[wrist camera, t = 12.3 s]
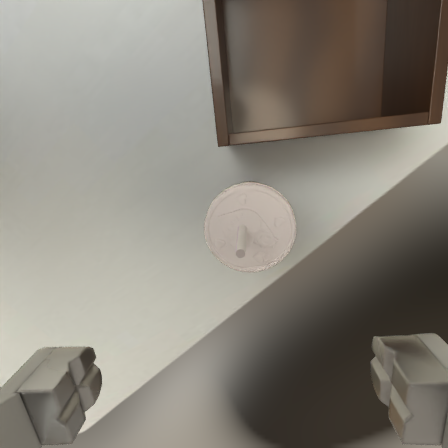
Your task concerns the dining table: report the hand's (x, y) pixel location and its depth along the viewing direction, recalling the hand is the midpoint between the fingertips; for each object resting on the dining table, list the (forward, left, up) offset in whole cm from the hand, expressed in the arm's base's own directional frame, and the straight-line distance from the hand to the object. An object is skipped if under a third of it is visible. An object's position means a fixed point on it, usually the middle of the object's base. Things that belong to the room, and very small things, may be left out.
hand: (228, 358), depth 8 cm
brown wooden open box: (+6, +13, -21) cm, 26 cm away
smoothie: (+1, 0, -21) cm, 21 cm away
